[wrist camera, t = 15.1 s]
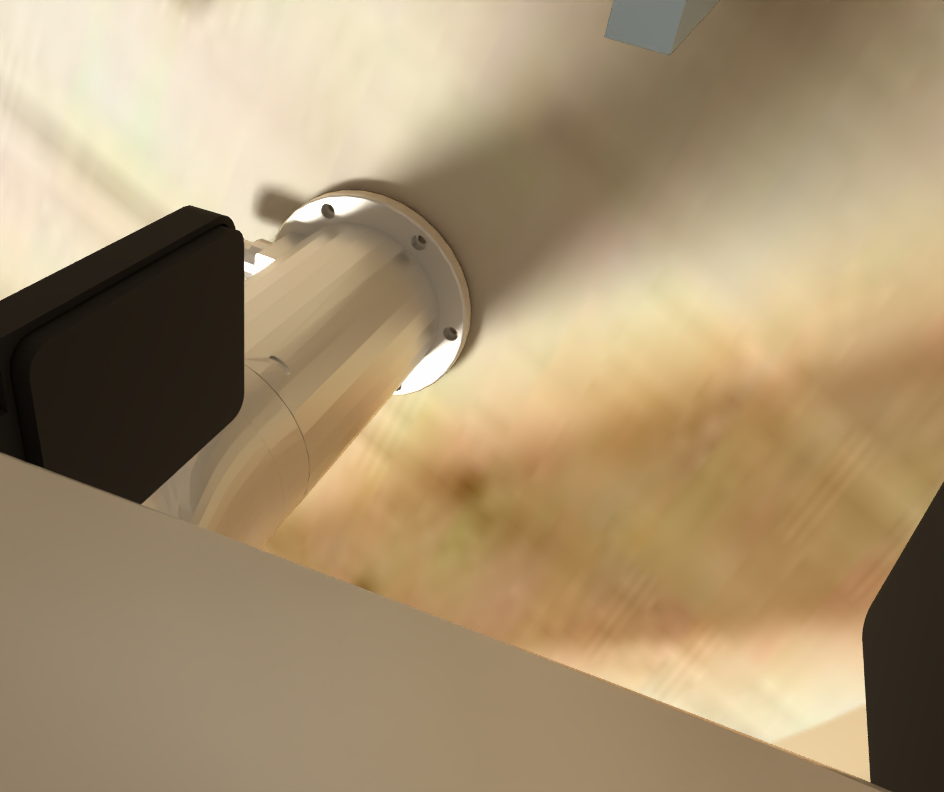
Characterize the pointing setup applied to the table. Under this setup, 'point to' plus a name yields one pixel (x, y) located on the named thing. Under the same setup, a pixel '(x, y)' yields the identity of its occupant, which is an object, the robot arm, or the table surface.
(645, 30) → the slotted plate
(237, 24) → the table surface
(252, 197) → the table surface
